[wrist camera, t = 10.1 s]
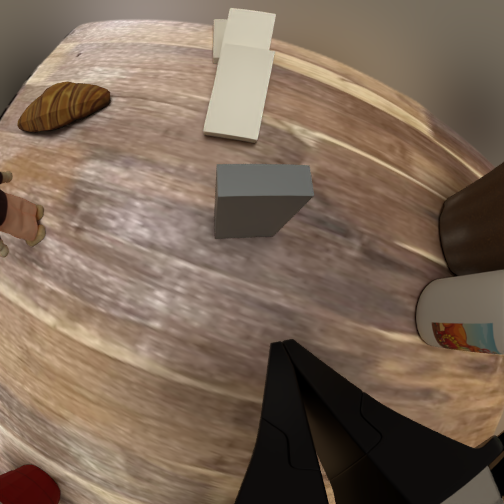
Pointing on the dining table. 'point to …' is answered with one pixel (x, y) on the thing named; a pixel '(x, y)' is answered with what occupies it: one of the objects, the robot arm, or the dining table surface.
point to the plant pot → (475, 226)
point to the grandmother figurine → (19, 217)
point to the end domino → (258, 198)
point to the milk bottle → (464, 313)
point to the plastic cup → (28, 487)
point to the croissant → (63, 106)
